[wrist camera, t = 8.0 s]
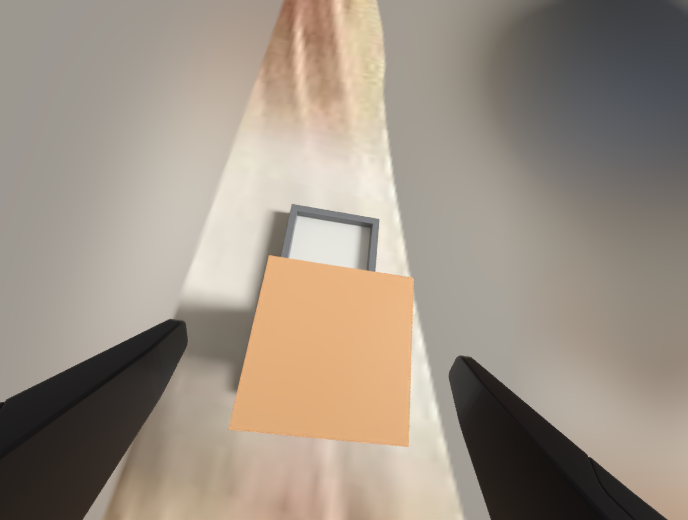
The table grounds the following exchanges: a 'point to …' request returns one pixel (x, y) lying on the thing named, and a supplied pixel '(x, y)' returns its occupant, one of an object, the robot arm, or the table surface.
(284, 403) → the block
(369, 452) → the table surface
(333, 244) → the organiser
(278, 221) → the table surface
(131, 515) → the table surface
